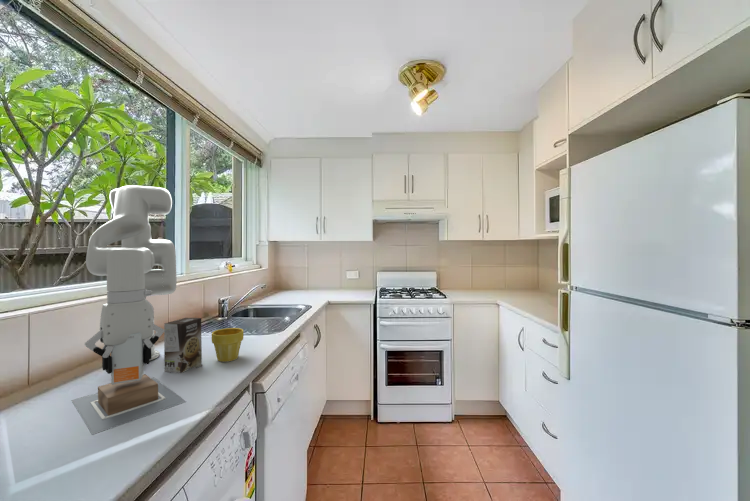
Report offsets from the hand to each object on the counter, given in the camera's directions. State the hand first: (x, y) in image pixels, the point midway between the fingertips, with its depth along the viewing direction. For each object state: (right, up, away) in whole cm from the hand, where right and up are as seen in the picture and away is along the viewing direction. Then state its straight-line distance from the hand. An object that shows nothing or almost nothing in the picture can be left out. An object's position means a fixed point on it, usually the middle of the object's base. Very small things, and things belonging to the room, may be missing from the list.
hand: (127, 366), depth 81 cm
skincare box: (0, -3, 0) cm, 3 cm away
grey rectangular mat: (0, -10, 0) cm, 10 cm away
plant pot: (+10, -9, +33) cm, 36 cm away
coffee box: (+1, -9, +23) cm, 25 cm away
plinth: (0, -9, 0) cm, 9 cm away
